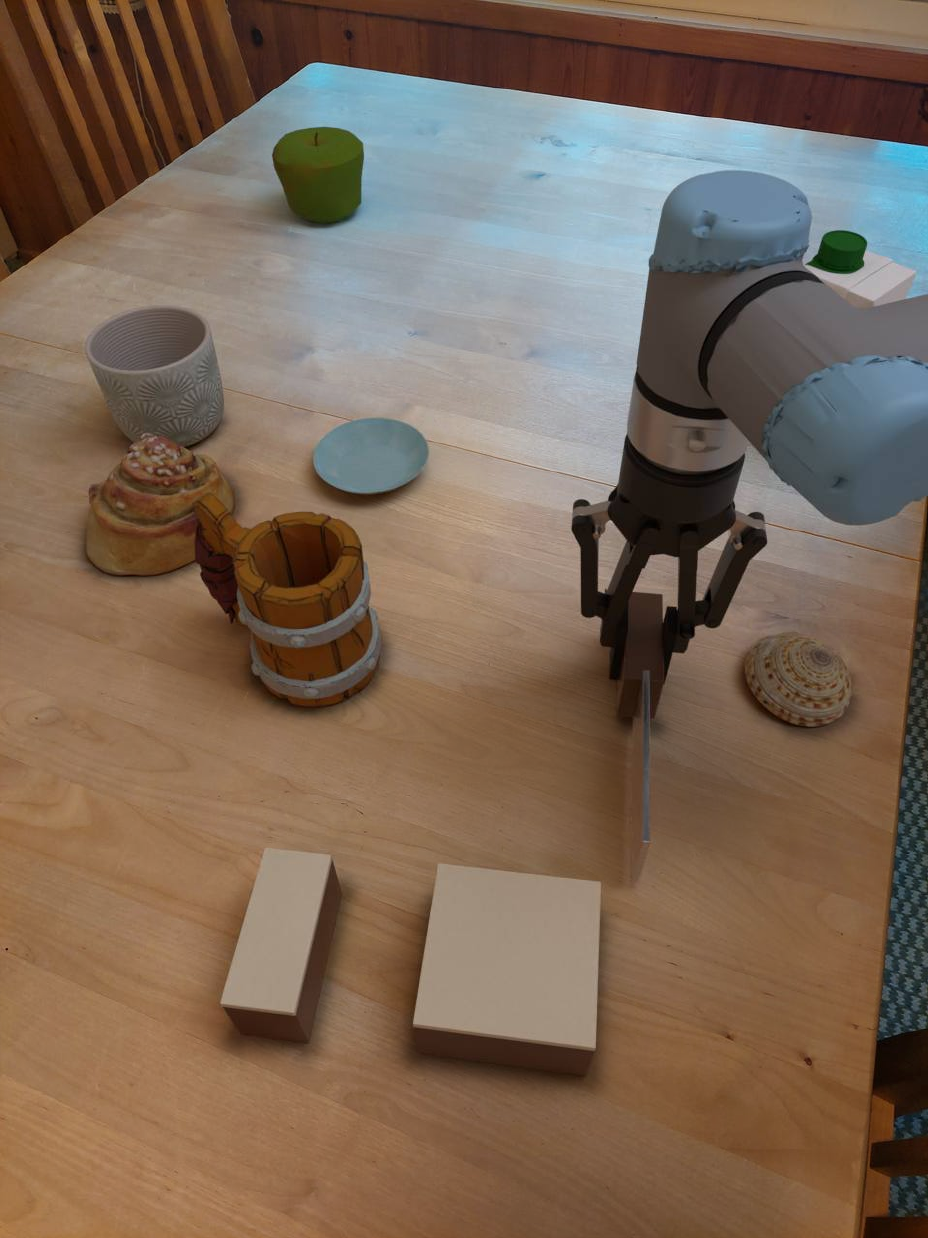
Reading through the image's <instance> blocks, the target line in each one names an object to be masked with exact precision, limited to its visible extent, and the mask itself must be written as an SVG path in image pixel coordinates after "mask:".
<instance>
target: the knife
mask: <svg viewBox="0 0 928 1238" xmlns="http://www.w3.org/2000/svg"><path fill="white" fill-rule="evenodd" d="M663 601H664V598H663V594H662V593H653V592H641V591H640V592H639V591H633V592H632V594H631V596H630V599H629V601H628V603H629V606H628V633H627V638H626V643H625V646H624V652H623V657H622V662H621V667H620V673H619V678H618V680H617V682H616V683H617V685H616V686H617V687H616V716H620V717H629V718H630V717H631V718H632V749H631V750H632V751H631V753H632V755H631V756H632V757H631V758H632V759H631V765H632V766H631V843H630V845H631V847H630V848H631V849H630V852H631V853H630V855H631V856H630V869H631V870H630V882H632V883H639V881H640V878H641V874H642V870H643V867H644V864H645V862H646V858H647V854H648V851H649V848H650V845H651V719H652V720H655V719H656V714H657V711H658V707H659V704H660V699H661V696H662V691H663V688H664V685H665V684H664V650H663V621H664V602H663ZM663 684H664V685H663Z"/></svg>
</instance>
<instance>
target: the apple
mask: <svg viewBox="0 0 928 1238" xmlns="http://www.w3.org/2000/svg"><path fill="white" fill-rule="evenodd" d="M271 157H272V162H273V169H274V171H275V174H276V176H277V177H278V178H277V179H278V180H279V182H280V184H281V187H282V190H283V192H284V196H285V199H286V201H287V204H288V207H289V209H290V210H291V211H292V213H293V214H295V215H297V216H299V217H300V218H302V219H304V220H306V221H307V222H310V223H315V224H333V223H339V222H341V221H343V220H345V219H346V218H348V217H349V216H350V215H351V214H353V212H355V211H356V210H357V208H359V207H360V205H361V204H362V186H363V185H362V183H363V181H362V178H363V177H362V176H363V171H364V170H363V169H364V162H365V152H364V143H363V141H362V140H361V139H360V138H359V137H358V136H357V135H356V134H354V133H352V132H351V131H350V130H347V129H343V128H340V127H334V126H333V127H332V126H316V127H307V128H302V129H297V130H293V131H291V132H290V131H289V132H288V133H285V134H284V135H283V136H282V137H281V138H279V139H278V141H277V143H276V144H275V146H273V149H272V153H271Z"/></svg>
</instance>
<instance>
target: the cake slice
mask: <svg viewBox="0 0 928 1238" xmlns="http://www.w3.org/2000/svg"><path fill="white" fill-rule="evenodd" d="M342 897H343V892H342V888H341V885H340V881H339V877H338V874H337V870H336V867H335V863H334V860H333V857H332V854H327V853H317V852H308V851H299V850H289V849H281V848H273V847H264V850H263V852H262V857H261V860H260V863H259V867H258V870H257V873H256V876H255V880H254V884H253V887H252V891H251V894H250V898H249V901H248V906H247V908H246V911H245V914H244V918H243V922H242V926H241V928H240V933H239V936H238V939H237V943H236V945H235V950H234V953H233V957H232V960H231V963H230V966H229V970H228V974H227V977H226V979H225V980H226V981H225V984H224V988H223V991H222V995H221V997H220V1001H219V1004H220V1006H221V1007H222V1009H223V1010H224V1012H225V1013H226V1015H227V1016H228V1017H229V1019H230V1021H231V1022H232V1023H233V1025H234V1027H235V1028H236V1030H237V1031H238V1032H239V1034H240V1035H244V1036H251V1037H258V1038H267V1039H274V1040H282V1041H289V1042H297V1043H304V1044H309V1043H310V1041H311V1035H312V1031H313V1027H314V1024H315V1023H314V1022H315V1017H316V1013H317V1009H318V1004H319V999H320V996H321V991H322V986H323V981H324V977H325V973H326V967H327V963H328V959H329V954H330V950H331V945H332V941H333V937H334V933H335V928H336V922H337V919H338V914H339V910H340V905H341V900H342Z"/></svg>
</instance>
